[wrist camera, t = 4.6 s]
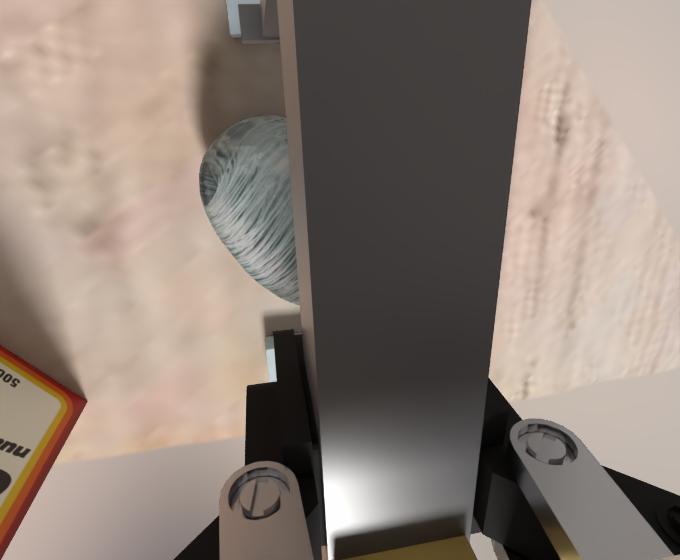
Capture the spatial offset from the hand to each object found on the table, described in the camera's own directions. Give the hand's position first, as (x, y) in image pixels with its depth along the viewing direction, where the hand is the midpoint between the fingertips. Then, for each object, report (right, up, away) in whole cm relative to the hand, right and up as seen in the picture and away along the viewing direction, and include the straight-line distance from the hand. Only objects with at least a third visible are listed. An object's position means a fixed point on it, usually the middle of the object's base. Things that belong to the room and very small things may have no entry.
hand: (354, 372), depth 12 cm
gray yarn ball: (-4, +8, +20) cm, 22 cm away
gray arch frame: (-2, +4, +10) cm, 11 cm away
